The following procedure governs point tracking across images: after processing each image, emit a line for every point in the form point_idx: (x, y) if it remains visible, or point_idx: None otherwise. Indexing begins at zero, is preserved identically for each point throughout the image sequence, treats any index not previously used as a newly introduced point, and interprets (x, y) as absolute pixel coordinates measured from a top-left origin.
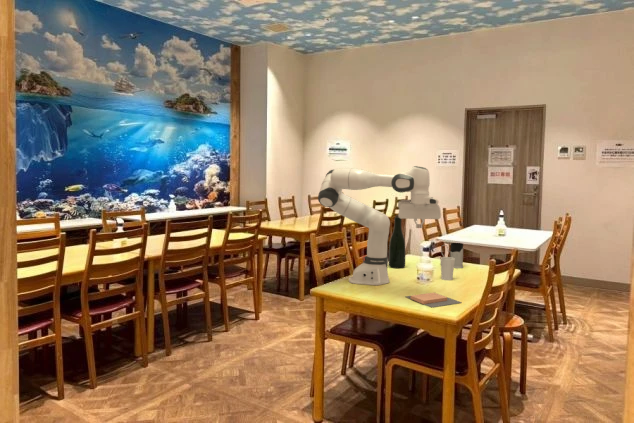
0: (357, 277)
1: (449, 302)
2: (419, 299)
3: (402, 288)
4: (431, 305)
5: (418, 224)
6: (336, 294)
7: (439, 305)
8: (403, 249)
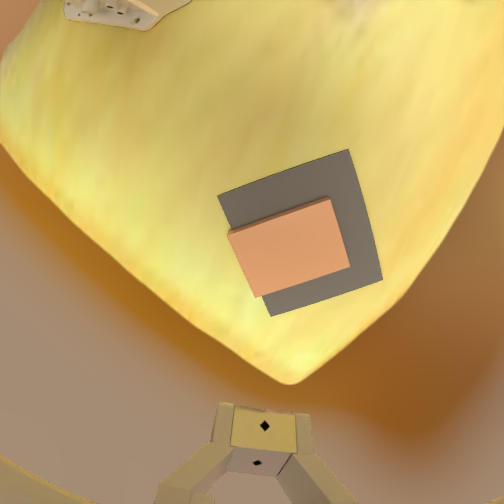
0: (77, 3)
1: (346, 278)
2: (246, 278)
3: (239, 67)
4: (276, 303)
5: (242, 468)
6: (20, 164)
7: (300, 305)
8: None
